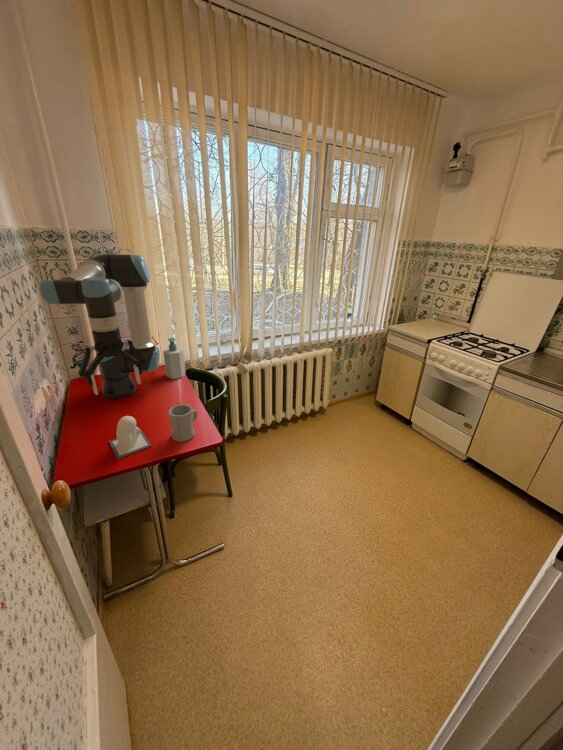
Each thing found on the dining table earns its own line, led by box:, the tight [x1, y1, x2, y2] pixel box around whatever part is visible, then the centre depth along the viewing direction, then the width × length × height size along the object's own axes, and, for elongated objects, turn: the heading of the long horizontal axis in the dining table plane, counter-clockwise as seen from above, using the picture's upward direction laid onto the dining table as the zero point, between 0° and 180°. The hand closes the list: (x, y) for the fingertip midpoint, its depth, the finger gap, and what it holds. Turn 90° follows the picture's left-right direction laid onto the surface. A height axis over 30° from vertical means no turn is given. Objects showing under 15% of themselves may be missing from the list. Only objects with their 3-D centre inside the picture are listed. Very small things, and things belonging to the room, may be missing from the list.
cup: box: [168, 403, 198, 442], centre depth 120 cm, size 10×9×12 cm
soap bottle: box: [162, 337, 186, 380], centre depth 167 cm, size 10×9×22 cm
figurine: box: [115, 415, 141, 448], centre depth 112 cm, size 7×8×12 cm
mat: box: [108, 429, 153, 460], centre depth 115 cm, size 12×12×1 cm
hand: (118, 387), depth 105 cm, fingers open, 13 cm apart
